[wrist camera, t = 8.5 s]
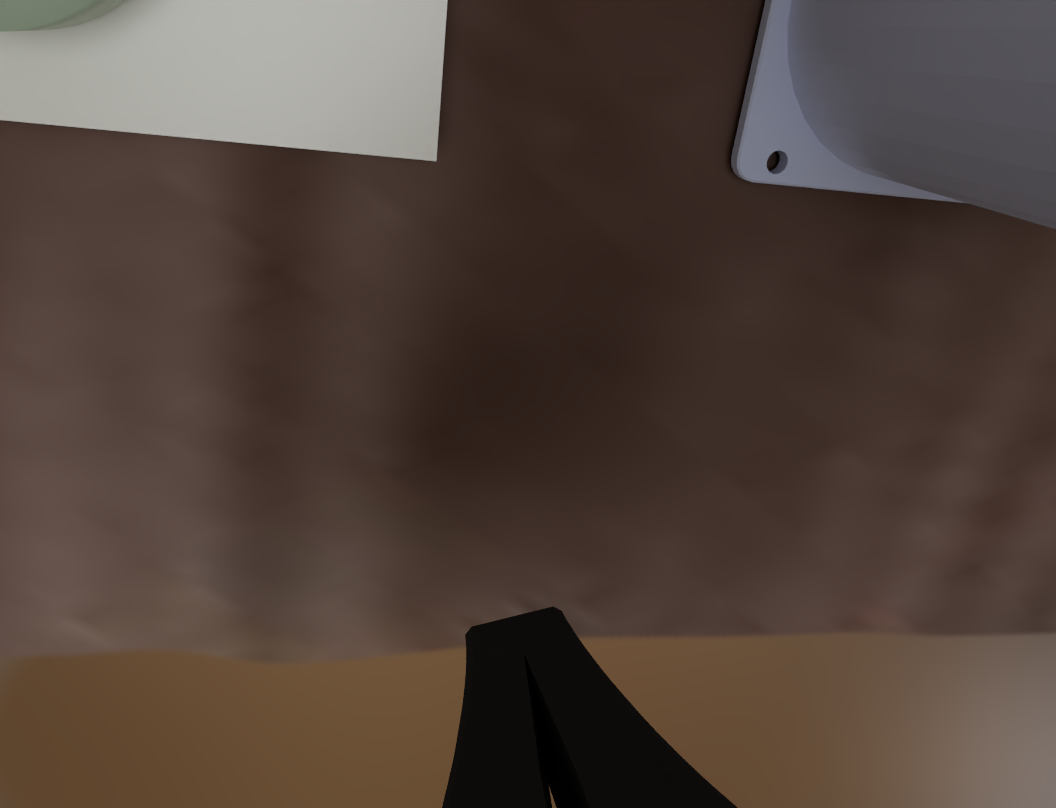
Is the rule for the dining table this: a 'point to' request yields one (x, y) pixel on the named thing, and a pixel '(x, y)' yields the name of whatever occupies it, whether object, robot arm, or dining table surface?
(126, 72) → the control panel
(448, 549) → the dining table surface
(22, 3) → the sage button
